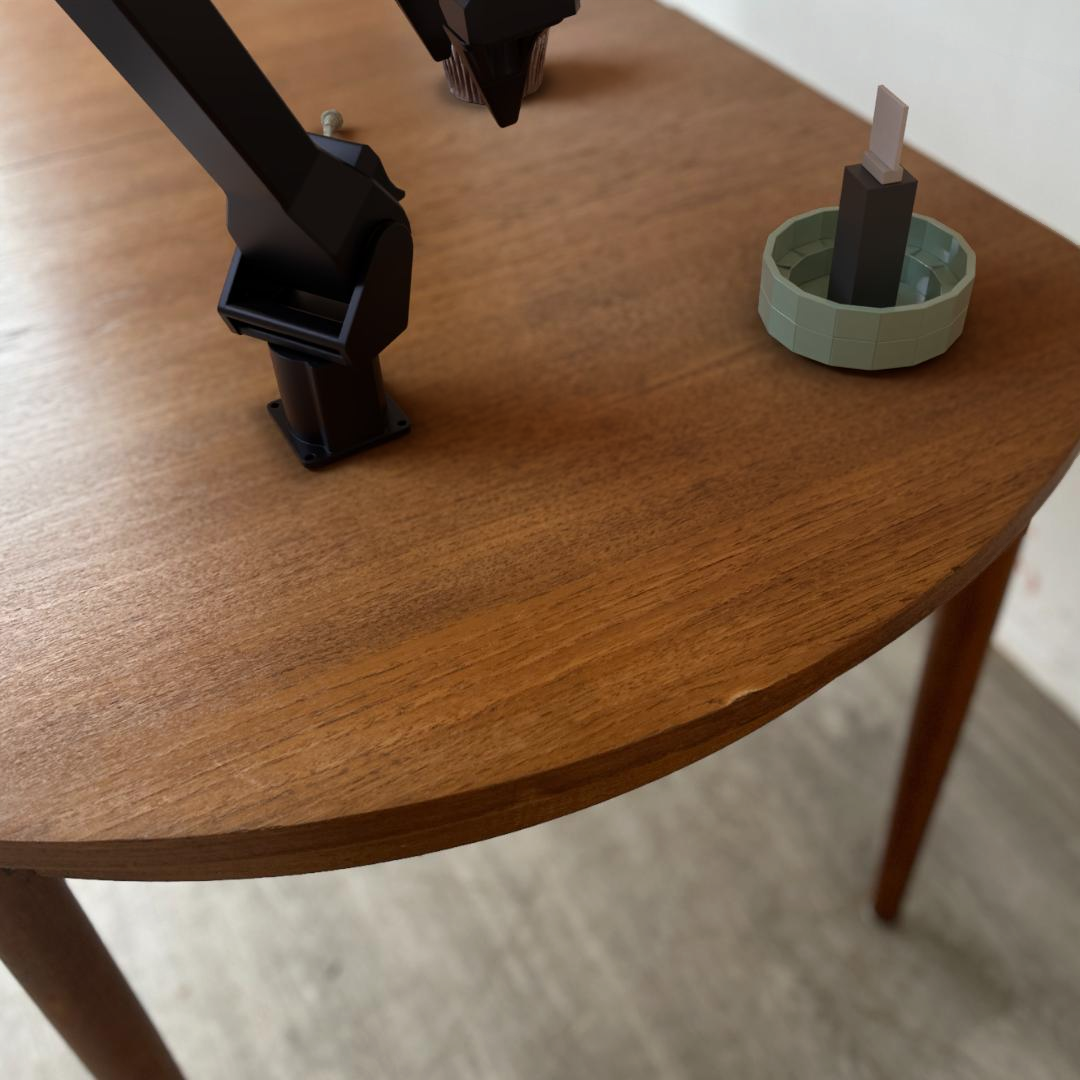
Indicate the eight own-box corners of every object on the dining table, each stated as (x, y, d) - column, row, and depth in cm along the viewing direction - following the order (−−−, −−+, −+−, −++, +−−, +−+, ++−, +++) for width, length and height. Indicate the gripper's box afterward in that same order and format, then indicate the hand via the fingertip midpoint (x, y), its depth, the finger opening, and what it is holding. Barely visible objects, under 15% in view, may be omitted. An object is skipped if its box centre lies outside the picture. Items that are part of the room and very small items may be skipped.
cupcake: (485, 53, 106) (475, -68, 99) (575, 75, 101) (571, -50, 94) (415, 93, 100) (400, -32, 93) (507, 118, 96) (498, -12, 89)
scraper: (847, 329, 71) (880, 111, 62) (825, 303, 73) (854, 88, 64) (893, 320, 72) (933, 102, 62) (870, 294, 74) (906, 80, 64)
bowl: (1003, 335, 71) (1021, 269, 68) (844, 402, 67) (855, 335, 64) (869, 249, 79) (879, 186, 76) (720, 305, 75) (724, 240, 72)
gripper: (668, -202, 54) (675, 114, 66) (493, -292, 65) (526, -10, 77) (445, -133, 51) (494, 182, 63) (304, -239, 63) (368, 44, 75)
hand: (474, 90), depth 70 cm, fingers open, 9 cm apart
